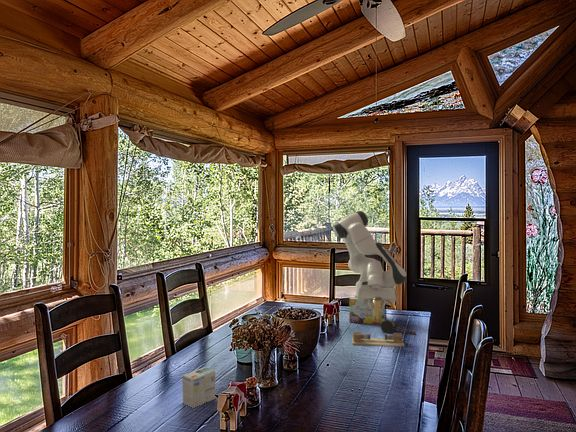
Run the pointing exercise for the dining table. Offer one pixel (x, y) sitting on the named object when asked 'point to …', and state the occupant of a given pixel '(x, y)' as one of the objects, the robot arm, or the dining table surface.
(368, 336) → the shaft rig
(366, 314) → the snack box
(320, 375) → the dining table surface
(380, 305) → the coupler
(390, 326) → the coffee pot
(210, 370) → the light bulb box
